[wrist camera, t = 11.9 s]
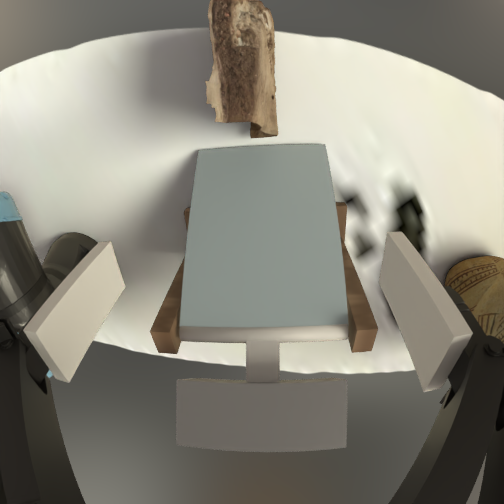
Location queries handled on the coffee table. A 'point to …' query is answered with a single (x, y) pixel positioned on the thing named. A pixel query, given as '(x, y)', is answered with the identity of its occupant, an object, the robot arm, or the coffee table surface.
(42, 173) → the coffee table surface
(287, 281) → the trapdoor
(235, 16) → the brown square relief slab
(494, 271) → the ceramic vessel
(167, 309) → the trapdoor frame
